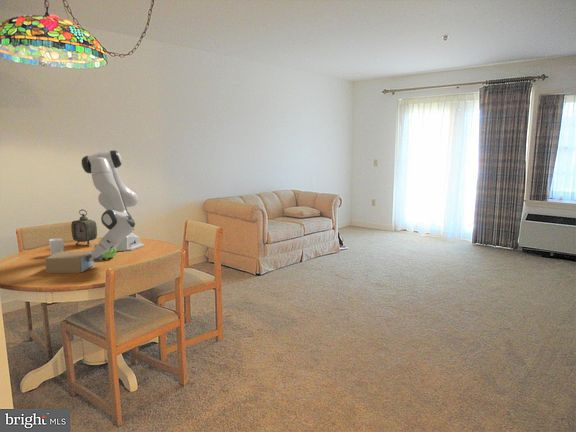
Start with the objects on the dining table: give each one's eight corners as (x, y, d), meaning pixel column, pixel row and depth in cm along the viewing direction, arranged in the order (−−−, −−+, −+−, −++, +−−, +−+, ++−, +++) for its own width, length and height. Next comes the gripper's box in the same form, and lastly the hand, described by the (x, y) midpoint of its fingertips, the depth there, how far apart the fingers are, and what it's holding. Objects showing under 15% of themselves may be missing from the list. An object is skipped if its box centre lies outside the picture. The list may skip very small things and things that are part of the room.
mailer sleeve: (92, 265, 231) (91, 251, 229) (80, 272, 217) (79, 258, 215) (60, 265, 230) (58, 251, 229) (46, 272, 216) (45, 258, 215)
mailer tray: (106, 264, 231) (105, 251, 230) (96, 271, 217) (95, 258, 216) (61, 264, 230) (60, 251, 229) (48, 272, 216) (47, 258, 215)
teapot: (117, 259, 244) (116, 243, 242) (96, 261, 238) (95, 245, 237) (114, 255, 254) (113, 239, 252) (94, 257, 248) (93, 241, 247)
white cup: (63, 256, 250) (61, 240, 249) (48, 257, 248) (47, 241, 247) (66, 253, 258) (64, 237, 256) (52, 254, 256) (50, 238, 254)
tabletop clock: (72, 245, 278) (69, 209, 274) (83, 243, 286) (81, 208, 282) (88, 247, 273) (85, 211, 269) (99, 244, 281) (96, 209, 277)
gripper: (114, 232, 231) (98, 249, 233) (99, 240, 211) (81, 258, 212) (122, 240, 232) (106, 257, 233) (108, 248, 212) (90, 267, 213)
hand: (94, 258), depth 223 cm, fingers open, 8 cm apart
